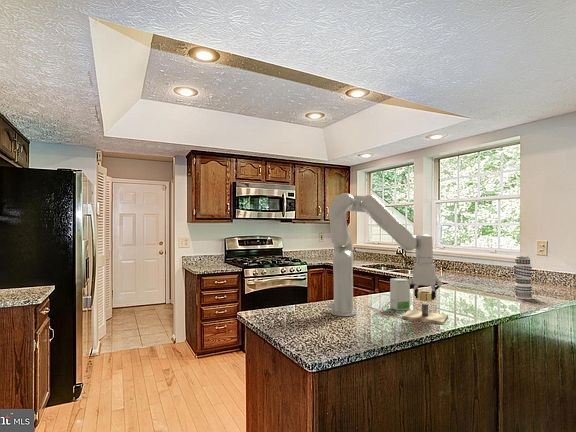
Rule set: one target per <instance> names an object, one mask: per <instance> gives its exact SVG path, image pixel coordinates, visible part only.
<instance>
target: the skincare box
mask: <svg viewBox="0 0 576 432" xmlns="http://www.w3.org/2000/svg"><path fill="white" fill-rule="evenodd" d="M389 280H390V281H389V282H390V284H389V286H390V289H389V293H390V295H389V296H390V297H389V298H390V300H389V301H390V304H389V306H390V309H393V310H395V311H409V310H411V303H410V302H411V296H410V295H411V293H410V292H411V289H410V288H411V287H410V286H411V285H410V284H409V283H408V282H407V281H408V280H409V279H408V278H396V277H395V278H390V279H389Z"/></svg>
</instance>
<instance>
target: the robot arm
mask: <svg viewBox="0 0 576 432" xmlns="http://www.w3.org/2000/svg"><path fill="white" fill-rule="evenodd" d="M328 210H329V211H328V217H329V228H330V240H331V243H332V244H333V250H334V255H333V258H332V268H333V269H332V271H333V272H332V273H333V303H331V302H327V304H326V307H327V308H328V309H329V308H330V314H332V315H333V316H338V317H352V316H356V315H357V310H356V309H354V276H353V275H354V274H353V271H354V269H353V267H354V266H353V265H354V264H353V262H354V252H353V251H354V250H353V244H352V237H351V233H350V232H349V228H348V223H347V221H348V220H347V212H356V213H357V212H358V213H366V214H367V215H368V216H369V217H370V218H371V219H372V221H374V222H375V223H376V224H377V225H378V227H379V228H380V229H381V230H383V231H385V232H386V233H387V234H388V235H389V236H390V237H391V238H392V239H393V240H394V241H395V242H396V244H398V245H399V247H400V248H401V249H403V250H404V251H407V252H408V251H409V252H411V251H413V250H415V257H412V261H414V262H415V263H413V266H412V267H413V269H412V277H410V278H409V279H408V281H407V282H408V283H409V284H410V286H411V288H412V289H413V290H414V291H413V292H414V297H415V299H417V292H418V291H420V290H419V289H418V288H419V286H430V288H431V292H432V300H433V301H434V300H435V299H436V297H437V295H436V294H437V293H436V291H437V290H439V288H440V287H442V286H443V284H444V283H443V282H442V281H441V280H440V279H439V278H438V277H437V270H436V265H435V263H434V261H433V259H434V255H433V254H434V253H433V252H434V251H433V249H434V247H433V236H432V235H429V234H418V235H415V234H413V233H411V232H410V231H409V230H408V229H407V227H405V226H404V224H403V223H401V222H400V221H399V219H397V217H396V216H395V215H394V214H393V213H392V212H391V211H390V210H389V209H388V208H387V207H386V206H385V205H384V204H383V203H382V202H381V201H380V199H378V198H377V196H375V195H373V194H367V195H352V194H350V193H348V192H344V193H343V192H342V193H340V194H339V195H337V196H335V198H334V199H333V200H332V202H331V203H330V205H329V209H328ZM436 284H437V285H436Z"/></svg>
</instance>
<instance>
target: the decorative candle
mask: <svg viewBox="0 0 576 432" xmlns="http://www.w3.org/2000/svg"><path fill="white" fill-rule="evenodd" d="M514 259H515V260H514V262H515V263H514V265H513V267H514V270H513V271H514V279H515V285H514V290H515V291H514V295H515V298H517V299H521V300H532V299H533V298H532V297H533V292H532V291H533V289H532V288H533V286H532V283H531V282H532V281H531V280H532V278H533V276H532V274H533V273H532V271H533V267H532V264H531V258H530V257H529V256H528V255H517V256H516V257H515V258H514Z"/></svg>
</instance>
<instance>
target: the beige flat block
mask: <svg viewBox="0 0 576 432" xmlns="http://www.w3.org/2000/svg"><path fill="white" fill-rule="evenodd" d="M448 318H449V314H446V313H445V314H442V313H437V312H429V304H427V303H422V304H421V310H414V309H413V310H412V309H410V310H406V312H405V313H403V315H401V319H402V320H409V321H416V322H417V321H418V322H423V323H429V322H430V324H439V325H444V324H445V323H446V321H447V320H448Z"/></svg>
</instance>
